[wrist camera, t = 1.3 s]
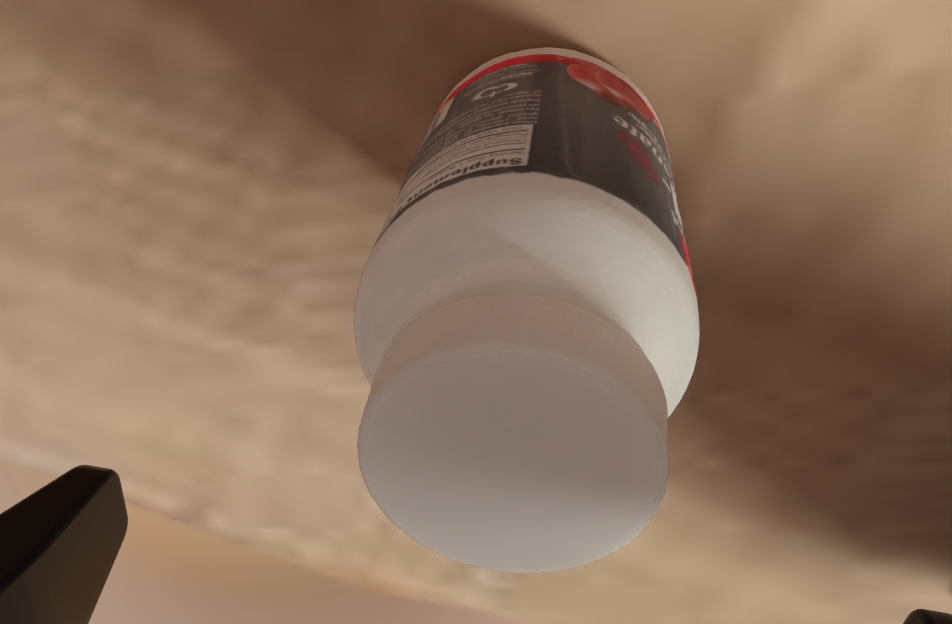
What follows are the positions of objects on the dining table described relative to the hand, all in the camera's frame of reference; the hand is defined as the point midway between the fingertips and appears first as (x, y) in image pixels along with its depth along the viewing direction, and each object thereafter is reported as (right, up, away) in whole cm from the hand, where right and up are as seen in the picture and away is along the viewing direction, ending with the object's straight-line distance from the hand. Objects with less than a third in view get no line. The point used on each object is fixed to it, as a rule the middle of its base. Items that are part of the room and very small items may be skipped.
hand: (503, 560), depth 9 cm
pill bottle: (+1, +6, +9) cm, 11 cm away
